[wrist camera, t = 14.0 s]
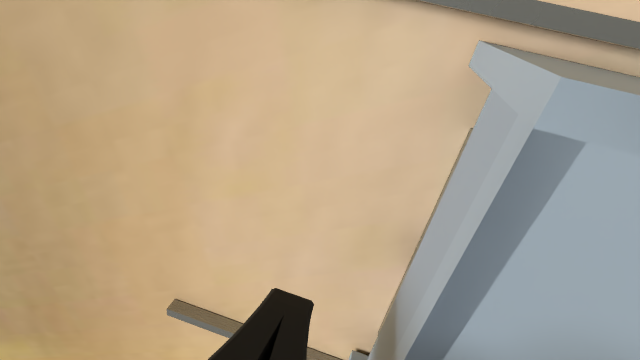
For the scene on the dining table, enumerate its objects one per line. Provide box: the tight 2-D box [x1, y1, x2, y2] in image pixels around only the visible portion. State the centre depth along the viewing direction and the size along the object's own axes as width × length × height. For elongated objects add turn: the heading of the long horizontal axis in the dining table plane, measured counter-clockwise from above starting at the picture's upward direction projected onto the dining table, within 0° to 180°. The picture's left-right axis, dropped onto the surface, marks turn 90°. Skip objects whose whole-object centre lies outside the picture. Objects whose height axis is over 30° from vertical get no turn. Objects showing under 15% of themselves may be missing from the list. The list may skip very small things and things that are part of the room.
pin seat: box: [167, 0, 640, 360], centre depth 14 cm, size 20×22×3 cm
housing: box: [349, 40, 640, 360], centre depth 11 cm, size 18×10×7 cm, turn 169°
